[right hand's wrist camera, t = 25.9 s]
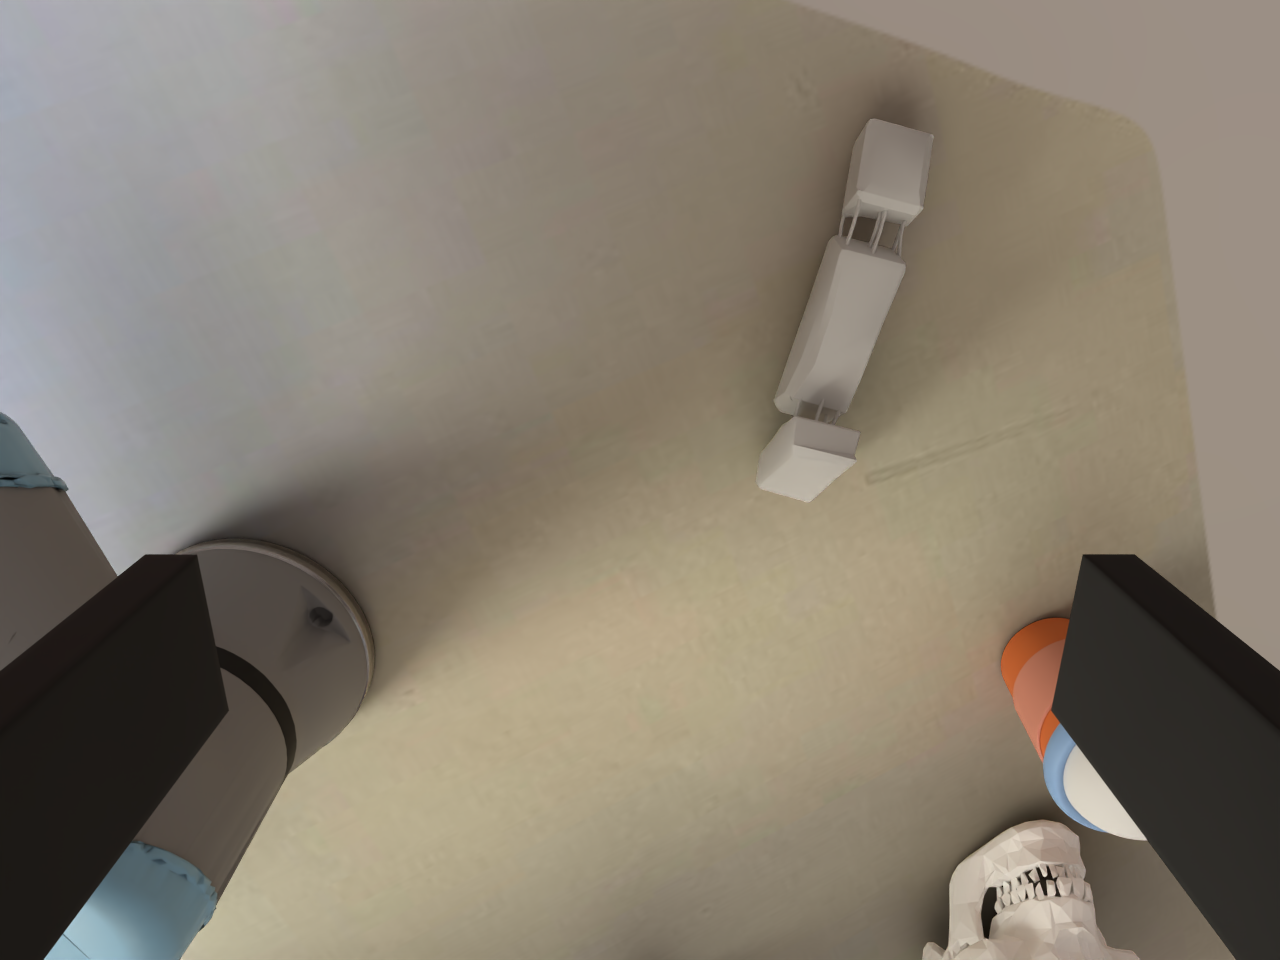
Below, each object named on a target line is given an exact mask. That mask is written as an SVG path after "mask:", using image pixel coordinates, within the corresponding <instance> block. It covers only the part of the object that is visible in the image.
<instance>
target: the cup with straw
mask: <svg viewBox="0 0 1280 960" xmlns="http://www.w3.org/2000/svg"><path fill="white" fill-rule="evenodd" d="M1069 620H1070V619H1066V618H1048V619H1043V620H1039V621H1036V622H1034V623H1031V624H1029V625H1028V626H1026V627H1024V628H1023V629H1021V630H1020V631H1019V632H1018V633H1016V634H1015V635H1014V636H1013V637H1012V639H1011V640H1010V641H1009V643H1008V644H1007V646H1006V648H1005V650H1004V652H1003V655H1002V659H1001V671H1002V676H1003V678H1004V681H1005V683H1006V685H1007V687H1008V689H1009V691H1010V693H1011V695H1012V697H1013V701H1014V706H1015V709H1016V711H1017V713H1018V715H1019V717H1020V719H1021V721H1022V723H1023V725H1024V727H1025V729H1026V731H1027V733H1028V735H1029V737H1030V739H1031V741H1032V743H1033V745H1034V747H1035V749H1036V751H1037V753H1038V755H1039V757H1040V759H1041V760H1042V762H1043V773H1044V779H1045V782H1046V786H1047V788H1048V791H1049V793H1050V795H1051V796H1052V798H1053V800H1054V801H1055V803H1056V804H1057V805H1058V806H1059V807H1060V809H1061V810H1062V811H1064V812H1065V813H1066V814H1067V815H1068V816H1069V817H1071V818H1072V819H1073V820H1075V821H1076V822H1078V823H1080V824H1082V825H1084V826H1086V827H1088V828H1091V829H1094V830H1097V831H1101V832H1107V833H1111V834H1113V835H1116V836H1120V837H1123V838H1127V839H1134V840H1147V839H1146V838H1145V836H1144V835H1143V834H1142V832H1141V831H1140V830H1139V828H1138V827H1137V826H1136V824H1135V823H1134V822H1133V820H1132V819H1131V818H1130V816H1129V815H1128V813H1127V812H1126V811H1125V809H1124V808H1123V807H1122V805H1121V804H1120V803H1119V801H1118V800H1117V799H1116V797H1115V796H1114V795H1113V793H1112V792H1111V791H1110V789H1109V788H1108V787H1107V785H1106V784H1105V783H1104V781H1103V780H1102V779H1101V777H1100V776H1099V774H1098V773H1097V772H1096V770H1095V769H1094V768H1093V766H1092V765H1091V764H1090V762H1089V761H1088V760H1087V758H1086V757H1085V756H1084V754H1083V753H1082V752H1081V750H1080V749H1079V748H1078V746H1077V745H1076V744H1075V742H1074V741H1073V740H1072V738H1071V737H1070V736H1069V734H1068V733H1067V731H1066V730H1065V729H1064V727H1063V726H1062V725H1061V723H1060V722H1059V721H1058V719H1057V718H1056V717H1055V715H1054V714H1053V713H1052V711H1051V708H1052V703H1053V698H1054V693H1055V688H1056V684H1057V679H1058V674H1059V669H1060V664H1061V659H1062V654H1063V649H1064V644H1065V639H1066V635H1067V630H1068V625H1069Z"/></svg>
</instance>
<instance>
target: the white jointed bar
mask: <svg viewBox="0 0 1280 960" xmlns="http://www.w3.org/2000/svg"><path fill="white" fill-rule="evenodd" d="M933 138H934V136H933V135H932V134H930V133H926V132H923V131H919V130H915V129H912V128H908V127H905V126H901V125H897V124H894V123H890V122H886V121H883V120H879V119H870V120H868V122H867V123H866V125H865V127H864V128H863V130H862V131H861V133H860V135H859V136H858V138H857V139H856V141H855V143H854V146H853V150H852V156H851V162H850V168H849V174H848V179H847V185H846V191H845V197H844V203H843V209H842V217H841V221H840V227H839V235H835V236H832V238H831V239H830V240H829V241H828V244H827V247H826V250H825V253H824V256H823V259H822V262H821V265H820V268H819V271H818V274H817V277H816V280H815V282H814V285H813V288H812V291H811V294H810V297H809V300H808V303H807V306H806V308H805V311H804V314H803V317H802V320H801V323H800V325H799V328H798V331H797V334H796V337H795V340H794V343H793V345H792V348H791V351H790V354H789V357H788V360H787V363H786V366H785V369H784V371H783V374H782V377H781V380H780V383H779V386H778V389H777V392H776V394H775V397H774V403H775V405H776V407H777V409H778V410H779V411H780V412H782V413H786V414H789V415H793V416H794V417H793V418H791V419H790V420H789V421H788V422H786V423H784V424H782V426H781V427H780V428H779V430H778V431H777V433H776V434H775V436H774V437H773V438H772V440H771V441H770V442H769V443H768V444H767V446H766V447H765V448H764V449H763V450H762V452H761V453H760V455H759V462H758V469H757V476H756V483H757V485H758V487H759V488H760V489H762V490H766V491H769V492H773V493H776V494H780V495H783V496H787V497H790V498H794V499H798V500H801V501H805V502H808V503H809V502H811V501H812V500H814V499H815V498H816V497H817V496H818V495H819V494H820V493H821V492H822V491H824V490H825V489H826V488H827V487H828V486H829V485H830V484H831V483H832V482H833V481H834V480H835V479H837V478H838V477H839V476H840V475H841V474H843V473H844V472H845V471H846V470H847V469H849V468H850V467H851V466H852V465H853V464H855V463H856V462H857V460H856V458H855V452H856V448H857V444H858V441H859V437H860V433H861V432H860V431H857V430H853V429H849V428H845V427H841V426H837V425H835V423H836V421H837V419H838V417H839V416H840V415H842V414H845V413H846V412H847V410H848V408H849V406H850V404H851V401H852V399H853V397H854V395H855V392H856V390H857V388H858V385H859V383H860V381H861V378H862V376H863V374H864V371H865V369H866V366H867V364H868V361H869V359H870V356H871V354H872V351H873V348H874V346H875V343H876V341H877V338H878V336H879V333H880V331H881V328H882V326H883V323H884V321H885V319H886V316H887V314H888V311H889V309H890V307H891V304H892V302H893V300H894V297H895V295H896V292H897V290H898V288H899V285H900V283H901V281H902V278H903V276H904V273H905V269H906V263H905V262H904V261H903V260H902V259H901V250H902V235H903V232H904V228H905V226H908V225H909V224H910V223H911V222H912V221H913V220H914V219H915V218H916V217H917V215H918V214H919V213H920V212H921V211H922V210H923V208H924V200H925V194H926V187H927V181H928V174H929V168H930V160H931V152H932V144H933ZM845 217H853V221H852V224H851V227H850V230H849V233H848V236H847V237H845V236H842V233H843V225H844V220H845ZM857 217H867V218H872V219H876V224H875V227H874V230H873V233H872V236H871V239H870V242H869V243H868V242H864V241H860V240H857V239H853V238H851V236H852V233H853V230H854V227H855V224H856V221H857ZM880 220H881V223H880ZM885 221H886V222H891V223H896V224H900V227H899V230H898V233H897V236H896V239H895V241H894V244H893V247H892V249H891V248H887V247H884V246H880V245H878V242H879V239H880V236H881V233H882V230H883V226H884V223H885ZM879 224H880V226H879ZM878 227H879V230H878ZM877 231H878V233H877ZM876 233H877V236H876ZM875 236H876V239H875ZM874 239H875V242H874ZM873 242H874V244H873ZM897 244H898V253H897V254H896V253H895V249H896V247H897ZM832 420H833V421H832ZM830 421H832V423H831V424H828V422H830Z"/></svg>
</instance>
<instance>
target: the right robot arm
mask: <svg viewBox="0 0 1280 960" xmlns="http://www.w3.org/2000/svg"><path fill="white" fill-rule="evenodd" d="M67 490H68V487H67V486H66V484H65V482H64V481H63V480H62V479H60V478H58V477H54V476H53V474H52V473H51V471H50V470H49V468H48V467H47V466H46V464H45V463H44V461H43V460H42V458H41V457H40V456H39V454H38V453H37V451H36V450H35V449H34V447H33V446H32V444H31V443H30V441H29V440H28V439H27V437H26V436H25V434H24V433H23V431H22V430H21V429H20V427H19V426H18V425H17V424H16V423H15V422H14V421H13V420H12V419H11V418H9V417H8V416H7V415H5V414H3V413H1V412H0V960H180V958H181V957H182V955H183V954H184V952H185V951H186V949H187V948H188V946H189V945H190V943H191V942H192V940H193V939H194V937H195V936H196V934H197V933H198V932H199V931H200V930H201V929H202V928H203V927H204V926H205V925H206V924H207V923H208V922H209V920H210V919H211V918H212V915H213V912H214V910H215V909H216V905H217V903H218V901H219V899H220V897H221V895H222V894H223V892H224V890H225V888H226V886H227V884H228V883H229V881H230V879H231V877H232V875H233V873H234V872H235V870H236V868H237V866H238V864H239V863H240V861H241V859H242V857H243V855H244V853H245V852H246V850H247V848H248V846H249V844H250V842H251V841H252V839H253V837H254V835H255V833H256V831H257V830H258V828H259V826H260V824H261V822H262V820H263V819H264V817H265V815H266V813H267V811H268V810H269V808H270V806H271V804H272V802H273V800H274V799H275V797H276V795H277V793H278V791H279V789H280V787H281V785H282V784H283V782H284V780H285V778H286V777H287V775H288V774H289V773H290V772H292V771H293V770H294V769H296V768H297V767H298V766H299V765H301V764H302V763H303V762H305V761H306V760H307V759H308V758H310V757H311V756H312V755H313V754H315V753H316V752H317V751H318V750H320V749H321V748H322V747H324V746H325V745H327V744H328V743H329V742H331V741H332V740H333V739H334V738H335V737H336V736H338V735H339V734H340V733H341V731H342V730H343V729H344V728H345V727H346V726H347V725H348V724H349V722H350V721H351V720H352V718H353V717H354V716H355V714H356V712H357V711H358V709H359V707H360V705H361V703H362V702H363V700H364V698H365V696H366V693H367V691H368V689H369V687H370V684H371V680H372V677H373V671H374V662H375V654H374V644H373V638H372V634H371V631H370V628H369V625H368V622H367V620H366V618H365V616H364V614H363V612H362V610H361V608H360V606H359V605H358V603H357V602H356V600H355V599H354V597H353V596H352V595H351V593H350V592H349V591H348V590H347V589H346V587H345V586H344V585H343V584H342V583H341V582H340V581H339V580H338V579H337V578H336V577H334V576H333V575H332V574H331V573H330V572H329V571H327V570H326V569H325V568H323V567H322V566H321V565H319V564H318V563H316V562H314V561H313V560H311V559H310V558H308V557H306V556H304V555H302V554H300V553H298V552H296V551H293V550H291V549H288V548H286V547H283V546H280V545H277V544H273V543H269V542H265V541H260V540H253V539H241V538H230V539H218V540H211V541H207V542H202V543H199V544H196V545H193V546H190V547H188V548H186V549H183V550H181V551H179V552H178V553H176V554H174V555H144V556H143V557H142V558H140V559H139V560H138V561H137V562H135V563H134V564H133V565H132V566H130V567H129V568H128V569H127V570H126V571H124V572H123V573H122V574H121V575H119V576H117V575H116V573H115V571H114V570H113V568H112V566H111V565H110V563H109V562H108V560H107V558H106V557H105V555H104V554H103V552H102V550H101V549H100V547H99V545H98V544H97V542H96V541H95V539H94V537H93V536H92V534H91V532H90V531H89V529H88V528H87V526H86V524H85V523H84V521H83V520H82V518H81V516H80V515H79V513H78V511H77V510H76V508H75V507H74V505H73V503H72V502H71V500H70V499H69V497H68V495H67V494H66V491H67ZM1051 711H1052V713H1053V714H1054V715H1055V717H1056V718H1057V719H1058V721H1059V722H1060V723H1061V725H1062V726H1063V727H1064V729H1065V730H1066V731H1067V733H1068V734H1069V736H1070V737H1071V738H1072V740H1073V741H1074V742H1075V744H1076V745H1077V746H1078V748H1079V749H1080V750H1081V752H1082V753H1083V754H1084V756H1085V757H1086V758H1087V760H1088V761H1089V762H1090V764H1091V765H1092V766H1093V768H1094V769H1095V770H1096V772H1097V773H1098V774H1099V776H1100V777H1101V779H1102V780H1103V781H1104V783H1105V784H1106V785H1107V787H1108V788H1109V789H1110V791H1111V792H1112V793H1113V795H1114V796H1115V797H1116V799H1117V800H1118V801H1119V803H1120V804H1121V805H1122V807H1123V808H1124V809H1125V811H1126V812H1127V813H1128V815H1129V816H1130V818H1131V819H1132V820H1133V822H1134V823H1135V824H1136V826H1137V827H1138V828H1139V830H1140V831H1141V832H1142V834H1143V835H1144V836H1145V838H1146V839H1147V840H1148V842H1149V843H1150V844H1151V846H1152V847H1153V848H1154V850H1155V851H1156V852H1157V854H1158V855H1159V857H1160V858H1161V859H1162V861H1163V862H1164V863H1165V865H1166V866H1167V867H1168V869H1169V870H1170V871H1171V873H1172V874H1173V875H1174V877H1175V878H1176V879H1177V881H1178V882H1179V883H1180V885H1181V886H1182V887H1183V889H1184V890H1185V891H1186V893H1187V894H1188V895H1189V897H1190V898H1191V900H1192V901H1193V902H1194V904H1195V905H1196V906H1197V908H1198V909H1199V910H1200V912H1201V913H1202V914H1203V916H1204V917H1205V918H1206V920H1207V921H1208V922H1209V924H1210V925H1211V926H1212V928H1213V929H1214V930H1215V932H1216V933H1217V934H1218V936H1219V937H1220V939H1221V940H1222V941H1223V943H1224V944H1225V945H1226V947H1227V948H1228V949H1229V951H1230V952H1231V953H1232V955H1233V956H1234V957H1235V959H1236V960H1280V671H1279V670H1278V669H1277V668H1275V667H1274V666H1273V665H1272V664H1270V663H1269V662H1268V661H1267V660H1266V659H1264V658H1263V657H1262V656H1261V655H1259V654H1258V653H1257V652H1256V651H1254V650H1253V649H1252V648H1250V647H1249V646H1248V645H1247V644H1246V643H1244V642H1243V641H1242V640H1241V639H1239V638H1238V637H1237V636H1236V635H1234V634H1233V633H1232V632H1231V631H1229V630H1228V629H1227V628H1226V627H1224V626H1223V625H1222V624H1221V623H1219V622H1218V621H1217V620H1216V619H1214V618H1213V617H1212V616H1211V615H1209V614H1208V613H1207V612H1206V611H1204V610H1203V609H1202V608H1201V607H1199V606H1198V605H1197V604H1196V603H1194V602H1193V601H1192V600H1191V599H1189V598H1188V597H1187V596H1186V595H1184V594H1183V593H1182V592H1181V591H1179V590H1178V589H1177V588H1176V587H1174V586H1173V585H1172V584H1171V583H1169V582H1168V581H1167V580H1166V579H1164V578H1163V577H1162V576H1161V575H1159V574H1158V573H1157V572H1156V571H1154V570H1153V569H1152V568H1151V567H1150V566H1148V565H1147V564H1146V563H1145V562H1143V561H1142V560H1141V559H1140V558H1138V557H1137V556H1136V555H1083V556H1082V561H1081V566H1080V571H1079V576H1078V581H1077V586H1076V591H1075V595H1074V600H1073V605H1072V610H1071V615H1070V620H1069V625H1068V630H1067V635H1066V639H1065V644H1064V649H1063V654H1062V659H1061V664H1060V669H1059V674H1058V679H1057V684H1056V688H1055V693H1054V698H1053V703H1052V708H1051Z"/></svg>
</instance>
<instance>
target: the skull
mask: <svg viewBox="0 0 1280 960" xmlns="http://www.w3.org/2000/svg"><path fill="white" fill-rule="evenodd" d="M1046 866H1049V868H1050V871H1051V874H1052V877H1053V879H1054V878H1055V877H1057V876H1058V874H1059V877H1058V878H1057V881H1056V884H1057V887H1058V890H1059V892H1060V895H1061V897H1055V894H1056V889H1055V883H1054V881H1052V880H1046V883H1047V895H1048V896H1045V895H1044V894H1043V891H1042V888H1041V885H1040V882H1039V883H1038V885H1037V886H1036V889H1035V893H1036V895H1037V896H1036V897H1035V893H1034V887H1033V883H1030V884H1028V883H1029V881H1028V879H1027V876H1026V875H1025V872H1028V871H1030V870H1032V869H1033V870H1032V871H1031V872H1030V874H1028V875H1029V876H1030V878H1031V879H1032V880H1033V882H1034V883H1036V882H1038V881H1039V880H1040V879H1039V876H1038V873H1037V870H1036V868H1038V867H1039V868H1040V870H1041V872H1042V875H1043V877H1046V876H1047V868H1046ZM1059 866H1062V867H1059ZM1055 867H1056V868H1055ZM1056 869H1057V870H1056ZM1065 873H1066V877H1065ZM1085 873H1086V869H1085V866H1084V864H1083V862H1082V859H1081V857H1080V842H1079V836H1077V835H1076V834H1075V833H1074V832H1072V831H1071V830H1070V829H1069V828H1068V827H1067V826H1065V825H1064V824H1062V823H1059V822H1054V821H1049V820H1035V821H1028V822H1024V823H1021V824H1019V825H1016V826H1013V827H1011V828H1009V829H1007V830H1005V831H1004V832H1002V833H1001V834H999V835H998V836H996V837H995V838H994V839H992V840H991V841H989V842H988V843H986V844H985V845H984V846H982V847H981V848H979V849H978V850H977V851H975V852H974V853H972V854H971V855H969V856H968V857H967V858H965V859H964V860H963V861H962V862H961V863H960V864H959V865H958V866H957V868H956V869H955V871H954V873H953V874H952V877H951V881H950V884H949V898H950V921H949V944H948V947H947V949H946V951H945V950H944V949H943V948H941V947H940V946H938V945H937V944H936V943H932V942H927V944H926V945H925V947H924V948H923V956H922V960H1140V959H1139V958H1138V957H1137V955H1136V954H1135V953H1134V952H1133V951H1132V950H1123V949H1115V948H1112V947H1109V946H1107V944H1106V941H1105V938H1104V937H1103V935H1102V933H1101V931H1100V930H1099V928H1098V926H1097V924H1096V918H1095V908H1094V904H1093V896H1092V891H1091V888H1090V884H1089V883H1087V882H1085V881H1084V880H1083V879H1084V878H1085ZM1019 878H1021V882H1022V885H1021V883H1020V882H1019V880H1018V879H1019ZM1009 882H1011V884H1010V883H1009ZM1002 885H1003V889H1002V887H1001V886H1002ZM1024 885H1025V886H1024ZM989 887H996V889H997V901H996V903H995V907H994V908H995V910H996V912H997V915H996V916H995V917H994V918H992V922H991V927H990V934H989V939H986V938H985V937H984V934H983V927H982V920H981V910H982V904H983V898H984V895H985V893H986V891H987V890H988V888H989ZM1003 890H1004V891H1003ZM1026 891H1027V894H1028V898H1027V899H1025V897H1026ZM1009 893H1010V894H1011V895H1010V894H1009ZM1013 903H1014V904H1013Z"/></svg>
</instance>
